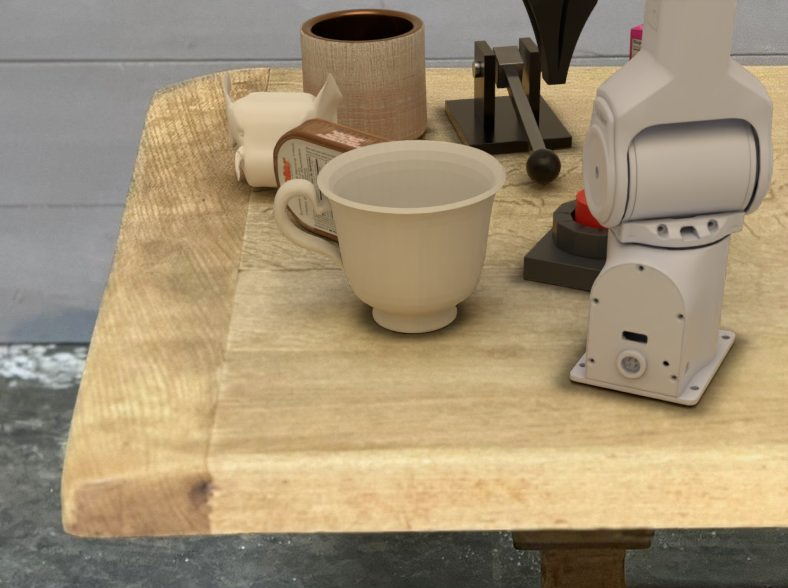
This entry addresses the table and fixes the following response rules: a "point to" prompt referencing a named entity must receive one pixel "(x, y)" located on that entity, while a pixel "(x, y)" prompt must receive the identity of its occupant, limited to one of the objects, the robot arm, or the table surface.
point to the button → (585, 212)
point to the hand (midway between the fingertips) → (553, 80)
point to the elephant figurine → (271, 124)
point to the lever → (525, 115)
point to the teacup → (404, 225)
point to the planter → (370, 69)
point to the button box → (568, 252)
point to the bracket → (504, 107)
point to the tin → (315, 164)
